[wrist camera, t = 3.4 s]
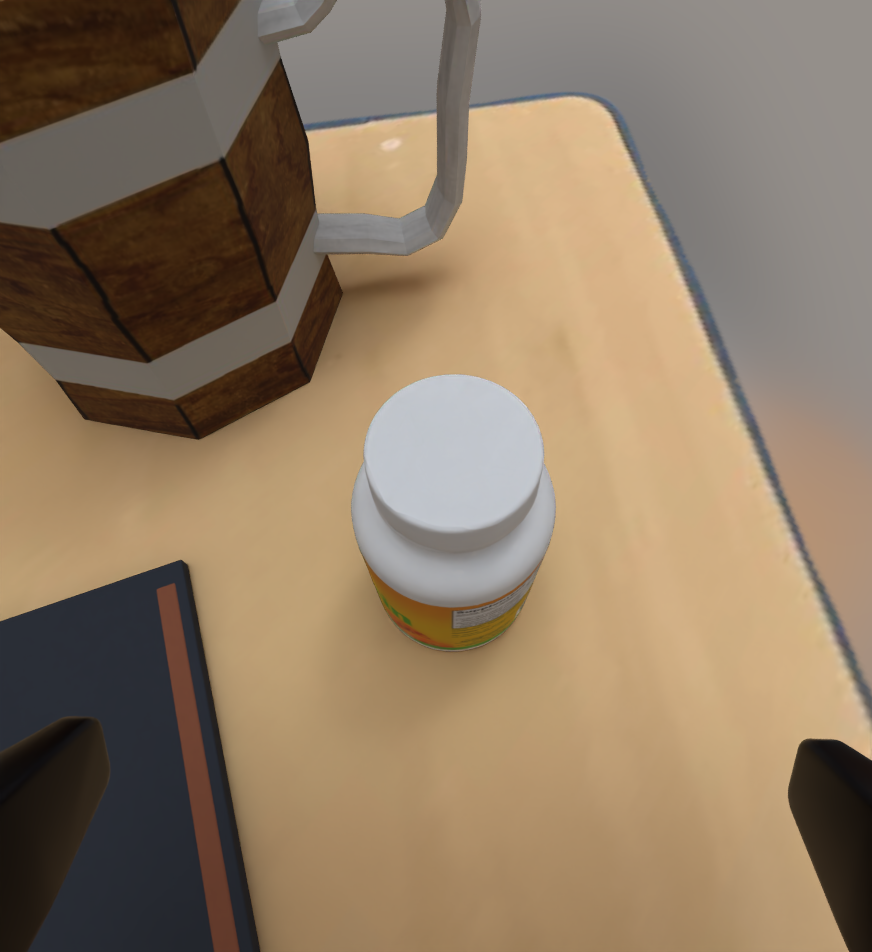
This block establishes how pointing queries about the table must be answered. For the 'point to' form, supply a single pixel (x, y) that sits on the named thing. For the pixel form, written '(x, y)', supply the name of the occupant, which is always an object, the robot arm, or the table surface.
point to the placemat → (135, 768)
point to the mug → (182, 202)
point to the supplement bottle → (453, 509)
